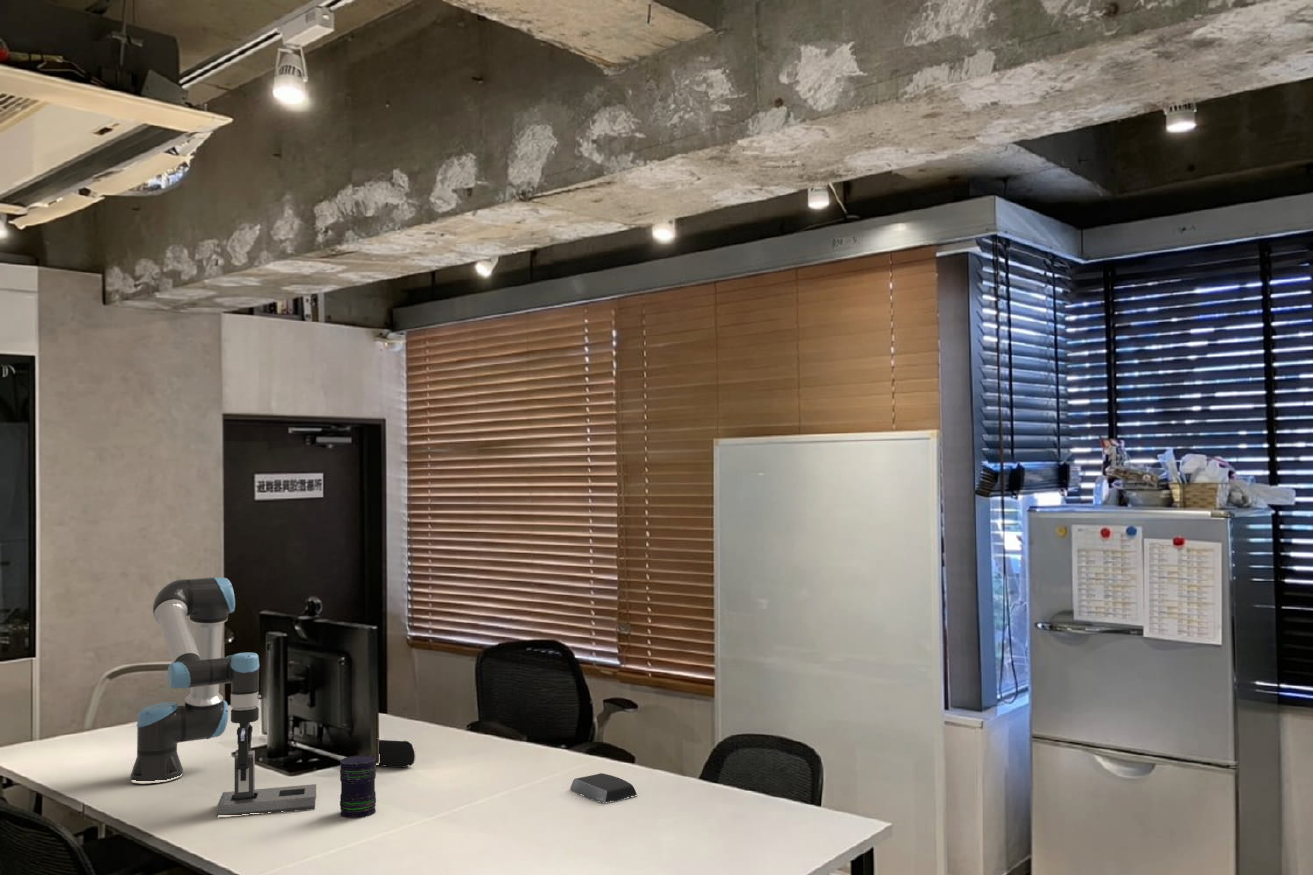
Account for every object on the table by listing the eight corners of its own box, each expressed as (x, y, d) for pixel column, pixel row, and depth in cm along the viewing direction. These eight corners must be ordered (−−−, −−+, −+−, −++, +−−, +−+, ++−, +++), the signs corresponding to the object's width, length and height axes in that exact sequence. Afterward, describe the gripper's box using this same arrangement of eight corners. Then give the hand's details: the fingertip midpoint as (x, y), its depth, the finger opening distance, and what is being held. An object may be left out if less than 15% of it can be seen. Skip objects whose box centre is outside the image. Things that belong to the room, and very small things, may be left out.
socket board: (223, 804, 306) (223, 792, 306) (316, 795, 313) (316, 783, 313) (216, 818, 292) (217, 805, 293) (314, 809, 300) (314, 796, 300)
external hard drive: (602, 806, 300) (602, 791, 300) (567, 791, 315) (567, 777, 316) (639, 797, 307) (639, 783, 308) (604, 783, 323) (603, 770, 323)
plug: (236, 793, 303) (236, 751, 303) (254, 792, 304) (254, 750, 305) (234, 797, 298) (234, 755, 299) (253, 796, 300) (253, 753, 300)
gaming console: (413, 769, 342) (417, 766, 345) (412, 742, 342) (415, 739, 345) (361, 766, 348) (365, 763, 350) (360, 739, 348) (364, 737, 350)
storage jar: (338, 810, 298) (338, 757, 299) (374, 806, 302) (374, 753, 302) (341, 820, 289) (341, 765, 290) (377, 815, 292) (377, 761, 293)
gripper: (255, 712, 295) (255, 796, 294) (261, 700, 312) (260, 780, 311) (227, 714, 293) (226, 798, 292) (234, 702, 310) (233, 782, 308)
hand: (244, 788), depth 301 cm, fingers closed on plug, 4 cm apart
